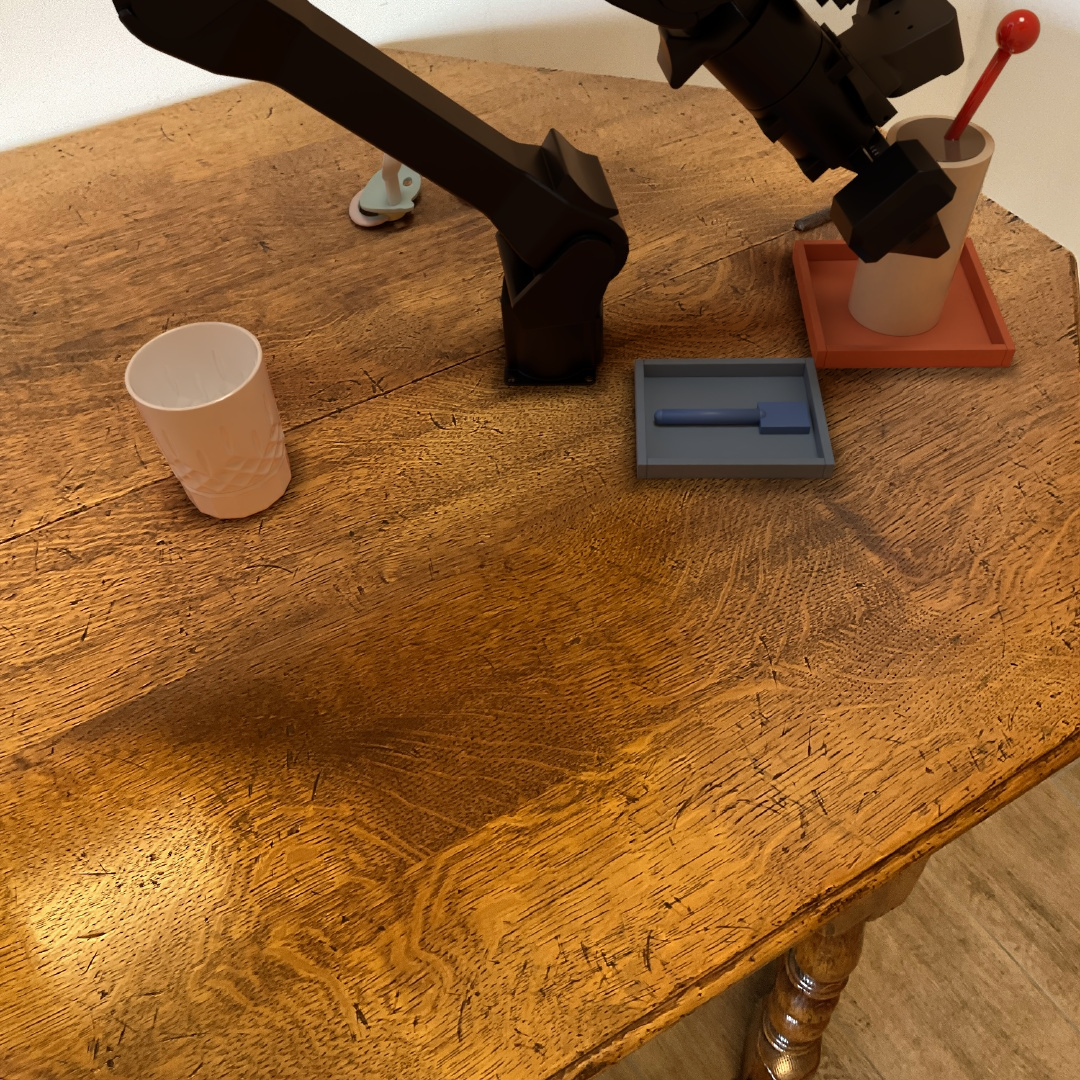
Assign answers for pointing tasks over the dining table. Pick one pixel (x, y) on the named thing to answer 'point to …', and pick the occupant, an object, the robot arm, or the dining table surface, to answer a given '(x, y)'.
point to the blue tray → (728, 444)
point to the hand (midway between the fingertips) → (915, 213)
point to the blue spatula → (746, 417)
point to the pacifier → (386, 194)
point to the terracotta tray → (955, 341)
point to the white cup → (213, 416)
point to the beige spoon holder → (964, 154)
